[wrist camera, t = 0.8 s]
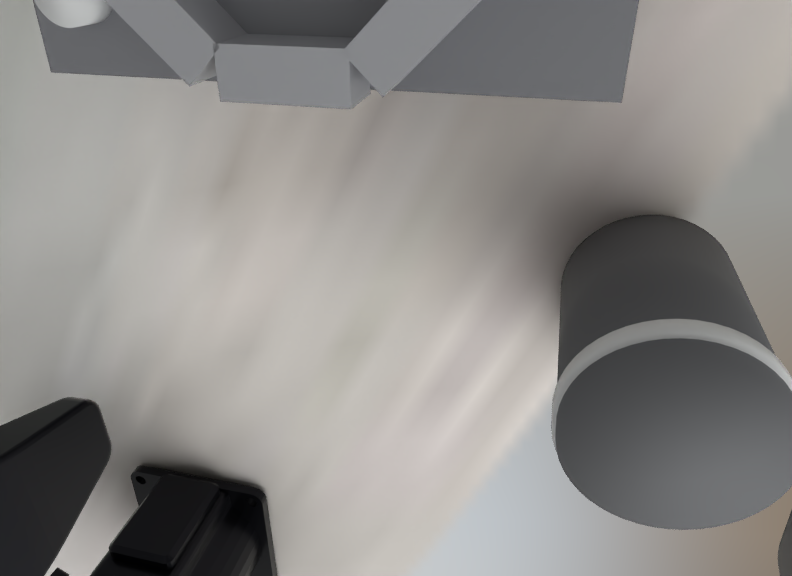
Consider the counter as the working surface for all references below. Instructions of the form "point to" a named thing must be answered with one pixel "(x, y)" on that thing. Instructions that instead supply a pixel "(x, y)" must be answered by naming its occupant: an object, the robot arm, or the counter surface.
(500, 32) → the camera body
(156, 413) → the counter surface
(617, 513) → the lens
